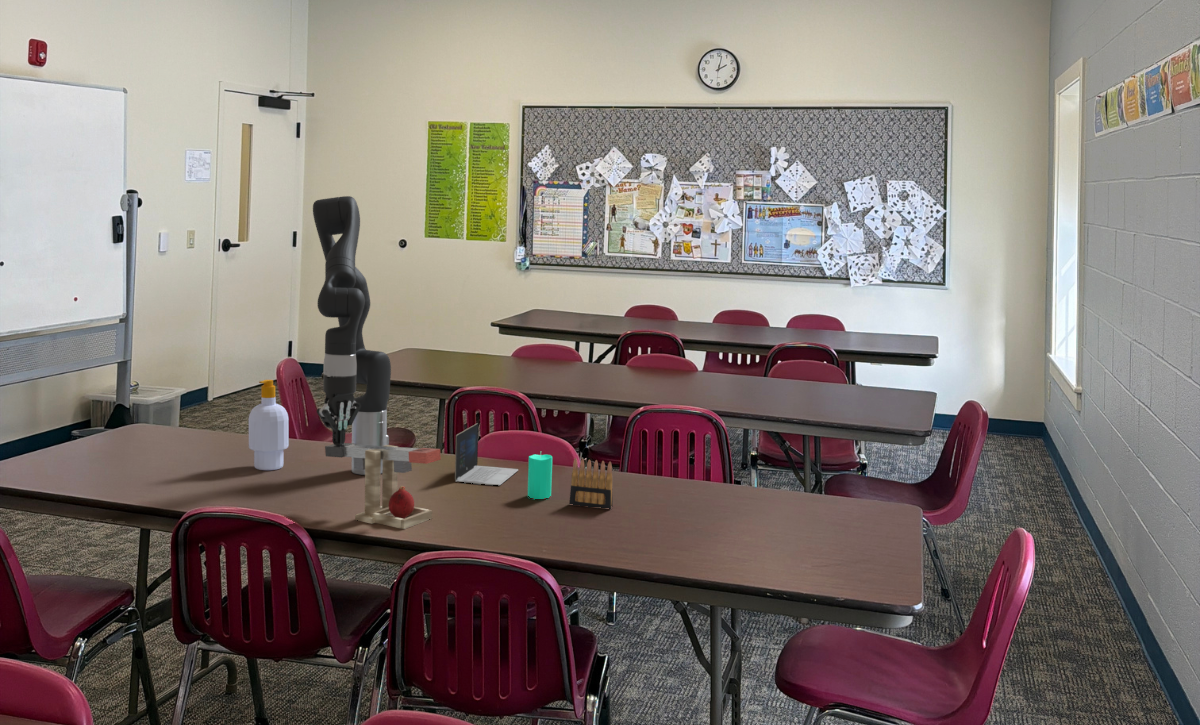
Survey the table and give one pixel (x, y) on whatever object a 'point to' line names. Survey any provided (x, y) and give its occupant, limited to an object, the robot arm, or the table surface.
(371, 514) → the press stand
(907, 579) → the table surface
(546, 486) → the candle
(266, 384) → the soap bottle
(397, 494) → the onion
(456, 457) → the laptop
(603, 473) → the ammunition clip
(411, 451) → the lever
